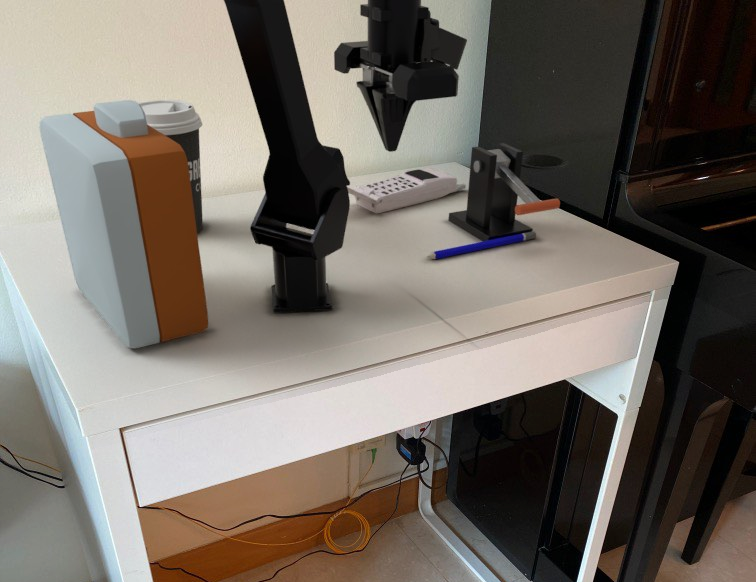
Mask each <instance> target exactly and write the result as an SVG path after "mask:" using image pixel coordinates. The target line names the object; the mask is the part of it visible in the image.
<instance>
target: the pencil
mask: <svg viewBox="0 0 756 582" xmlns="http://www.w3.org/2000/svg"><path fill="white" fill-rule="evenodd" d="M536 237H537V232H536V231H534V230H533V231H532V232H528V233H523V234H518V235H513V236H508V237H503V238H498V239H493V240H488V241H480V242H474V243H470V244H465V245H459V246H454V247H450V248H445V249H439V250H436V251H432V252H430V253H429V254H428V255H427V256H426V258H428V259H431V260H437V259H442V258H443V259H444V258H447V257H452V256H457V255H461V254H462V255H463V254H467V253H471V252H476V251H481V250H482V251H483V250H486V249H490V248H495V247H500V246H506V245H510V244H515V243H520V242H524V241H530V240H534V239H536Z"/></svg>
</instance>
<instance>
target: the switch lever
mask: <svg viewBox="0 0 756 582" xmlns="http://www.w3.org/2000/svg"><path fill="white" fill-rule="evenodd" d="M486 150H487V151H489V152H491V153H493V154H496V155H497V161H496V170H495V179H497V178H502V179H503V180H504V181H505V182H506V183H507V185H508V186H509V187H510V188H511V189H512V190H513V191H514V192H515V193H516V194H517V195H518V198H520V199H521V201H522V202H523V203H522V204H517V205H516V207H515V213H516V214H515V216H523V215H529V214H535V213H539V212H545V211H552V210H558V209H559V208H560V207H561V201H560V199H559V198H557V197H556V198H551V199H546V200H540V199H539V197H537V195H536V194H534V193H533V192H532V191H531V189H530V188H529V187H528V186H526V184H525V183H524V182H523V181H522V180H521V179H520V180H519V178H518V177H517V176H516V175H515V174H514V173H513V172H512V171H511V170H510V169H509V165H510V161H511V160H510V159H509V158H508V157H507V156H506V155H505V154H504V153H503V152H502V151H501V150H500V149H497V148H496V149H495V148H494V149H486Z"/></svg>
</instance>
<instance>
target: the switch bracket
mask: <svg viewBox="0 0 756 582" xmlns="http://www.w3.org/2000/svg"><path fill="white" fill-rule="evenodd" d="M496 149H500V150H501V151H502V152H503V153H504V154H505V155H506V156H507V157H508V158H509V159H510V160H511V161H510V165H509V169H510V170H511V171H512V172H513V173H514V174H515V175H516V176H517V177H518V178H519V180H520V181H521V173H522V167H523V165H522V164H523V157H524V156H523V155H524V151H523V150H521V149H519V148H516V147H513V146H511V145H509V144H507V143H505V142H502V143H497V147H496ZM487 150H488V149H485V148H483V147H480V146H472V147H471V154H470V167H469V178H468V189H467V190H468V191H467V202H466V210H459V211H453V212H449V213H448V221H449V222H450V223H451V224H453V225H454V226H456V227H458V228H459V229H461V230H463V231H464V232H466V233H468V234H470V235H471V236H473V237H475V238H476V239H478V240H479V241H480V242H483V241H488V240H493V239H498V238H503V237H508V236H513V235H518V234H523V233H528V232H533V231H534V228H532V227H531V226H529V225H526V224H525V223H523V222H521V221H519V220H518V219H516V213H515V207H516V205H518V198H519V196H518V195H517V194H516V193H515V192H514V191H513V190H512V189H511V188H510V187H509V186H508V185H507V183H506V182H505V181H504V180H503V179H502V178H497V179H495V170H496V161H497V155H496V154H493V153H491V152H489V151H487Z"/></svg>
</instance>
